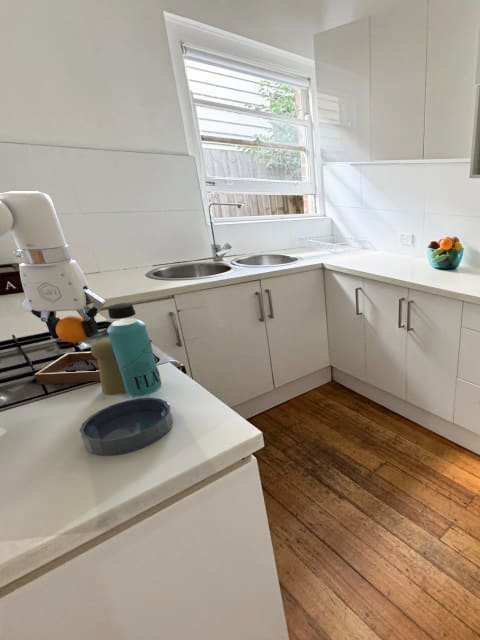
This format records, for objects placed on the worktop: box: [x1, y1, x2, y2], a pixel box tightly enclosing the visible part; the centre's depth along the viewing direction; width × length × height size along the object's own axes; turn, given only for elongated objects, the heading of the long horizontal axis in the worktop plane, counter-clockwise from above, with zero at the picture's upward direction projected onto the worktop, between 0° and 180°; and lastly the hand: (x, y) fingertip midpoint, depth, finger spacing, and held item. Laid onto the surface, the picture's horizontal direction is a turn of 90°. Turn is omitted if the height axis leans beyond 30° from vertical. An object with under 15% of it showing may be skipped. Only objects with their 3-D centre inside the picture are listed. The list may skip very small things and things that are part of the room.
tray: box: [33, 351, 101, 385], centre depth 89 cm, size 13×11×2 cm
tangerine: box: [56, 315, 88, 344], centre depth 85 cm, size 6×6×6 cm
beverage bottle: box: [106, 302, 162, 397], centre depth 76 cm, size 6×7×20 cm
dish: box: [78, 397, 175, 457], centre depth 69 cm, size 13×13×3 cm
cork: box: [90, 338, 127, 396], centre depth 81 cm, size 6×6×11 cm
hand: (76, 335), depth 86 cm, fingers closed on tangerine, 6 cm apart
